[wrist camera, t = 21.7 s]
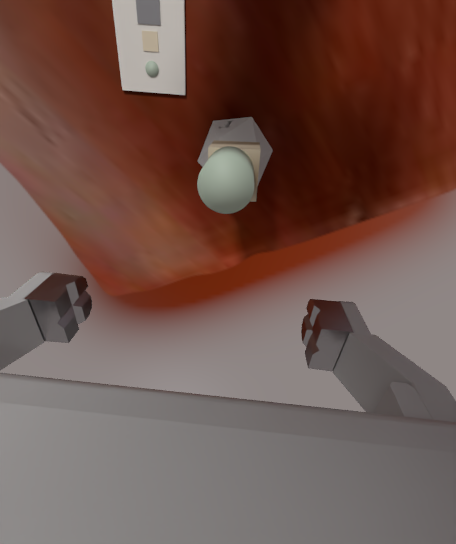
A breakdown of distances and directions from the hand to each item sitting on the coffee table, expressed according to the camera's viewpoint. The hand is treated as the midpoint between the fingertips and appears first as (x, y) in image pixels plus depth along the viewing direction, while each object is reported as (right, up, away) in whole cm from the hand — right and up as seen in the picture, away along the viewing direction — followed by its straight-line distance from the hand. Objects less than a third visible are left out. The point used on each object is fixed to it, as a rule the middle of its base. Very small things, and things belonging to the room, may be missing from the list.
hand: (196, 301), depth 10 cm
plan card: (-8, +28, +22) cm, 37 cm away
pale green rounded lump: (+1, +11, +17) cm, 21 cm away
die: (+2, +18, +28) cm, 33 cm away
